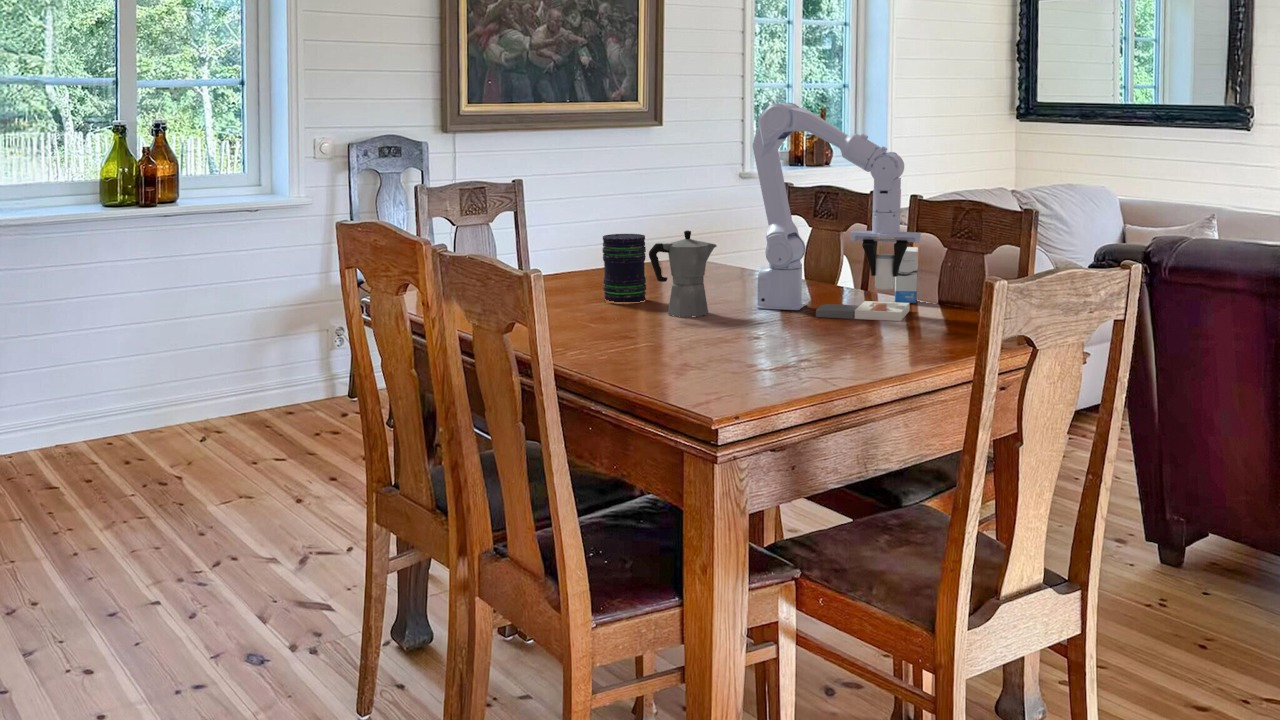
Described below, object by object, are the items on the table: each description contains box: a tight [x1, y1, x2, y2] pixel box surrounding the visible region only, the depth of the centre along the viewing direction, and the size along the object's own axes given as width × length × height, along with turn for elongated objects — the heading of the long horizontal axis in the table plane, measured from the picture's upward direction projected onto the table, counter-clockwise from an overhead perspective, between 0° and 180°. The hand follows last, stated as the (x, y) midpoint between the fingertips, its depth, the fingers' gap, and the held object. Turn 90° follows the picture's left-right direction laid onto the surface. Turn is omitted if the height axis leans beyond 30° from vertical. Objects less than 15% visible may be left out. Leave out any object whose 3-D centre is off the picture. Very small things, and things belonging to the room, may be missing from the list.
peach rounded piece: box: [873, 303, 887, 311], centre depth 266 cm, size 3×3×3 cm
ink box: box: [894, 246, 919, 304], centre depth 286 cm, size 8×5×12 cm, turn 168°
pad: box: [815, 303, 861, 320], centre depth 271 cm, size 8×8×2 cm
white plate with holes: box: [854, 300, 911, 322], centre depth 270 cm, size 10×12×2 cm
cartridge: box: [874, 253, 895, 290], centre depth 270 cm, size 4×4×7 cm
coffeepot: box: [648, 230, 718, 318], centre depth 272 cm, size 15×9×18 cm, turn 110°
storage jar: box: [602, 233, 647, 302], centre depth 291 cm, size 10×10×15 cm
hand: (884, 275), depth 270 cm, fingers closed on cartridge, 4 cm apart
